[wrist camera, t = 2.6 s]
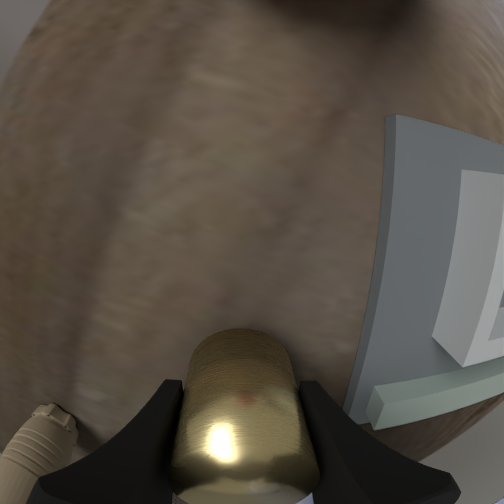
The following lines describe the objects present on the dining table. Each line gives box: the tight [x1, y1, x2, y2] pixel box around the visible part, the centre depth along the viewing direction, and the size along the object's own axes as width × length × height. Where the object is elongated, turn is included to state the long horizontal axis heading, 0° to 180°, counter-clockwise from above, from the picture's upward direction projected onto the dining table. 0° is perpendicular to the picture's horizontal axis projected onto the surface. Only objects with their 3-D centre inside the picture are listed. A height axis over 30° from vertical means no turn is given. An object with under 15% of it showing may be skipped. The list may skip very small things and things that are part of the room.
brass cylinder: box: [167, 328, 320, 504], centre depth 10 cm, size 4×4×6 cm
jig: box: [342, 114, 504, 430], centre depth 12 cm, size 16×14×4 cm
